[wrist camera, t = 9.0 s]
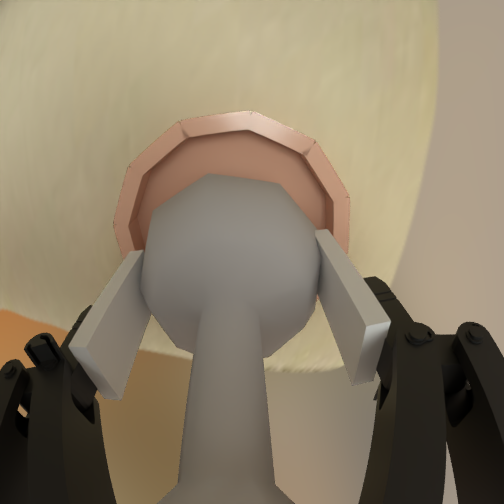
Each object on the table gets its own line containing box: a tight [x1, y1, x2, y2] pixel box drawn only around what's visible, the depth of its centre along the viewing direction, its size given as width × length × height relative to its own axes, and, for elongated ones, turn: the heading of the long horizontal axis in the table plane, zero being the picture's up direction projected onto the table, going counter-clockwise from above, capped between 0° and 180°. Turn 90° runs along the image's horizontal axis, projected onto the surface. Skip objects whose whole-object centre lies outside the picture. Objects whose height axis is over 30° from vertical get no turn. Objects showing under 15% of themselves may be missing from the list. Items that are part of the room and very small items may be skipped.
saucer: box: [113, 110, 350, 302], centre depth 17 cm, size 14×14×2 cm
